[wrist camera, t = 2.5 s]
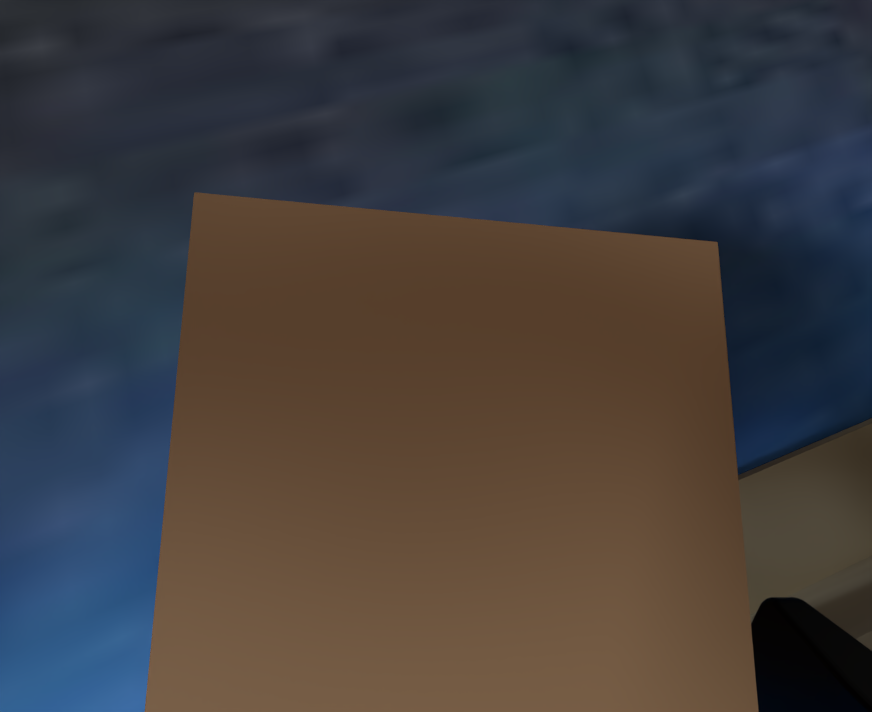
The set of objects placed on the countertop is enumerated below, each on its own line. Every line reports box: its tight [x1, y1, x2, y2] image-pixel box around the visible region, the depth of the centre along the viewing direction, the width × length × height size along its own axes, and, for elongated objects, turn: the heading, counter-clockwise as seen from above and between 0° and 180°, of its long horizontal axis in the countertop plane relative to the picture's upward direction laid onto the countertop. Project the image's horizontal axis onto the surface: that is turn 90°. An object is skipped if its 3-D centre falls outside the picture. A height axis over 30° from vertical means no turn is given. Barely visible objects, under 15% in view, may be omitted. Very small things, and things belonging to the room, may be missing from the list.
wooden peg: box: [145, 193, 759, 712], centre depth 12 cm, size 4×4×12 cm
